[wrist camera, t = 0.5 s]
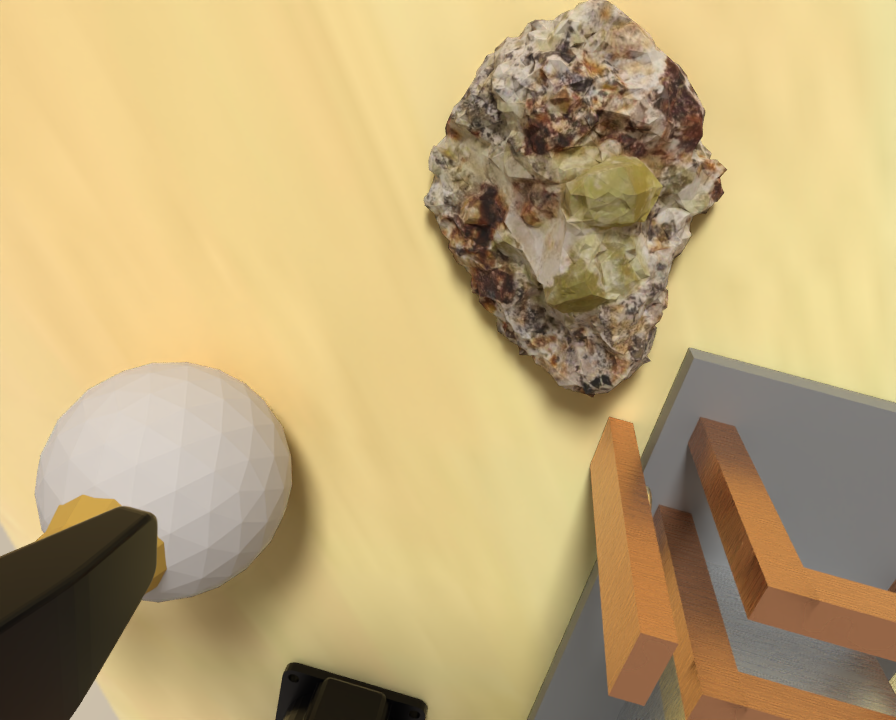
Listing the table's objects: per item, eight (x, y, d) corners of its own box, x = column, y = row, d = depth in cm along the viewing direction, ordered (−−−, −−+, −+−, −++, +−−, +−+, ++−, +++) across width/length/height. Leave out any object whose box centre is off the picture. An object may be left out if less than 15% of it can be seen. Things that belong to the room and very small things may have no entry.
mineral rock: (363, 46, 16) (714, -36, 12) (437, 36, 19) (728, -30, 16) (445, 418, 20) (720, 437, 17) (493, 356, 24) (730, 361, 20)
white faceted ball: (335, 509, 25) (163, 853, 14) (109, 504, 26) (-199, 806, 16) (299, 327, 22) (45, 586, 11) (47, 334, 23) (-387, 566, 13)
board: (736, 847, 29) (740, 867, 29) (502, 776, 30) (500, 794, 29) (1046, 443, 19) (1065, 458, 19) (689, 347, 20) (693, 357, 19)
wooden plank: (620, 473, 22) (656, 709, 14) (589, 465, 22) (608, 695, 14) (640, 425, 21) (691, 647, 13) (609, 416, 21) (640, 632, 13)
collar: (917, 603, 22) (1071, 834, 15) (648, 527, 22) (686, 721, 15) (934, 581, 21) (1100, 810, 15) (658, 504, 21) (702, 694, 15)
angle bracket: (978, 523, 20) (1180, 743, 14) (687, 443, 20) (747, 619, 14) (997, 498, 20) (1215, 712, 13) (700, 416, 20) (767, 585, 13)
